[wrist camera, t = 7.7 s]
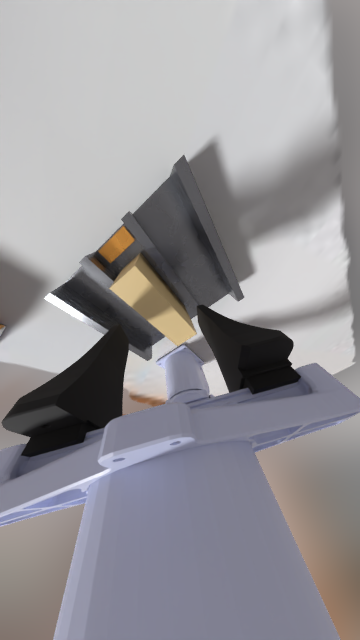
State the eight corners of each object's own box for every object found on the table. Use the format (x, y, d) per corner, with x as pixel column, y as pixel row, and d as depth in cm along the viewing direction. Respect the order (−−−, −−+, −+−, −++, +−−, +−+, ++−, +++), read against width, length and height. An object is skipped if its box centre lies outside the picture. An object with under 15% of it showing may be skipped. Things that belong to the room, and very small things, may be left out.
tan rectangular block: (184, 306, 22) (196, 333, 16) (170, 316, 22) (177, 346, 17) (140, 252, 16) (134, 265, 10) (123, 268, 17) (109, 288, 11)
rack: (230, 287, 22) (244, 297, 19) (147, 344, 26) (147, 360, 23) (176, 172, 13) (183, 154, 10) (64, 285, 17) (44, 298, 14)
